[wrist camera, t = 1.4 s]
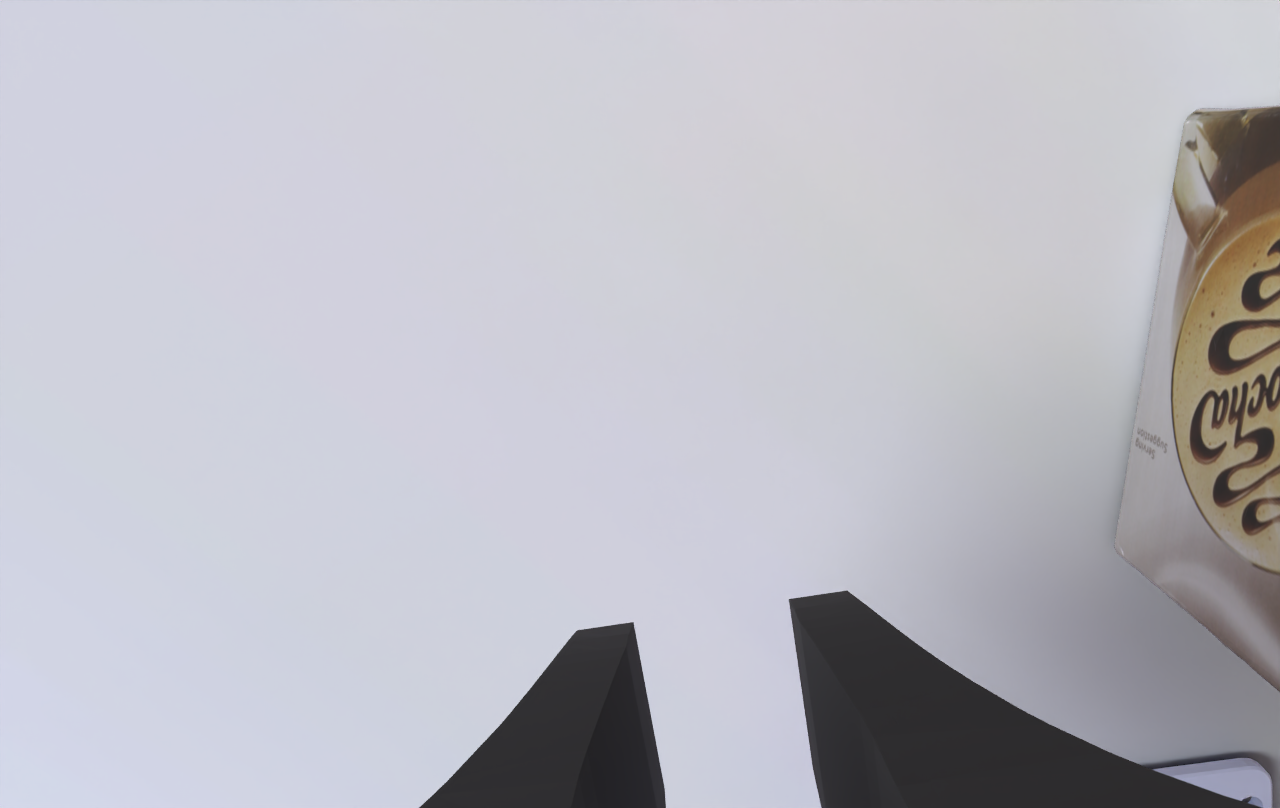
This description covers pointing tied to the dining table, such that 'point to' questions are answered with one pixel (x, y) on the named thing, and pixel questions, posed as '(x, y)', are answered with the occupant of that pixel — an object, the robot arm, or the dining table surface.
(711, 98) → the dining table surface
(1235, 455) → the coffee box
